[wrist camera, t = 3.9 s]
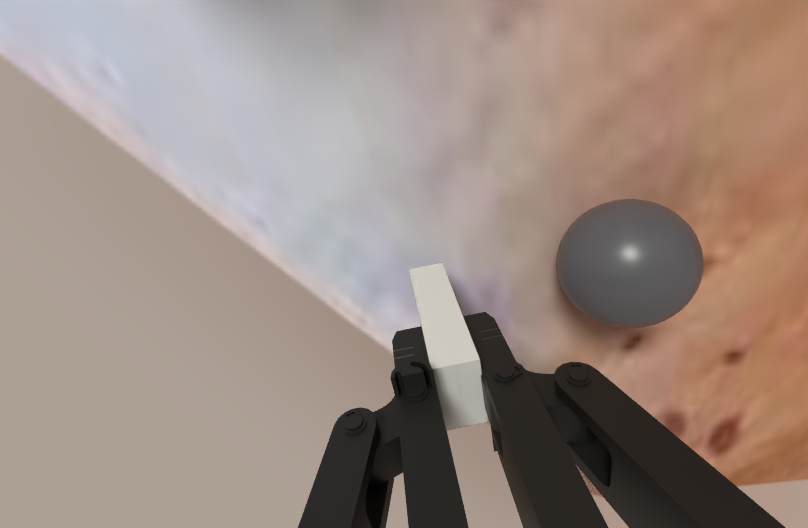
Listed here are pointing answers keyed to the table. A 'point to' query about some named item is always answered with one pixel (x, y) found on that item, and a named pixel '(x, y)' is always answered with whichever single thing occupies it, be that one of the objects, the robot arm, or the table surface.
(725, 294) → the table surface
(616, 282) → the dark grey sphere
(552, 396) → the robot arm
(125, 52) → the table surface
